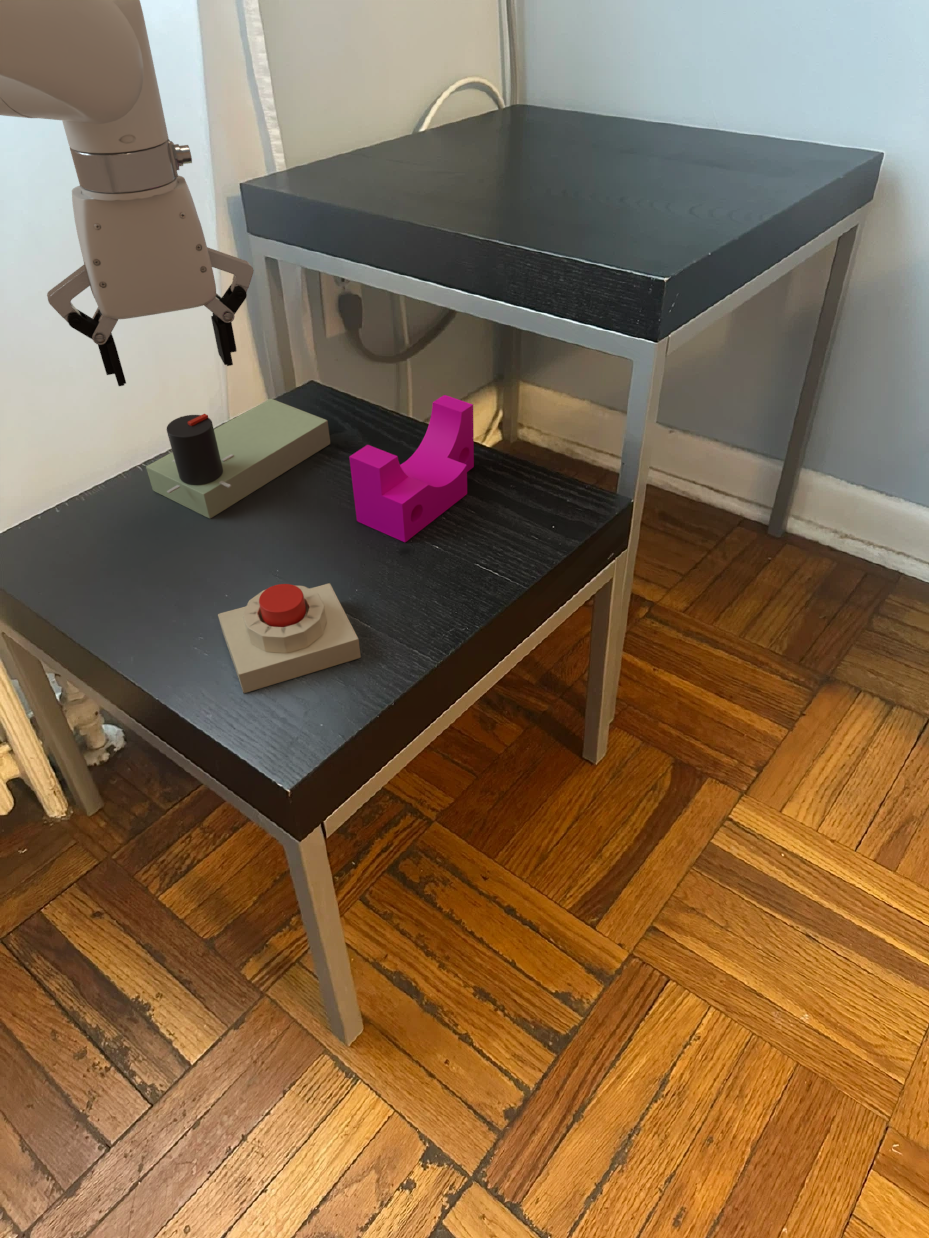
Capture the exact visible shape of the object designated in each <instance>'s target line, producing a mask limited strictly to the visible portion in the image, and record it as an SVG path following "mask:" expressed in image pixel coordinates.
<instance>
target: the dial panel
mask: <svg viewBox="0 0 929 1238" xmlns="http://www.w3.org/2000/svg"><path fill="white" fill-rule="evenodd" d="M214 433H215V437H216V441H217V446H218V450H219V454H220V459H221V463H222V467H223V473H222V475H221V476H220V477H219V478H218V479H216V480H215V481H213V482H210V483H207V484H202V485H190V484H186V483H184V482H182V481H181V479H180V478H179V474H178V470H177V467H176V463H175V459H174V455H173V452H170V453H168V454H166V455H164V456H163V457H161V458H159V459H157V460H155V461H153V462H151V463H150V464H148V465H145V469H146V472H147V475H148V478H149V482H150V485H151V489H152V491H153V492H155V493H157V494H159V495H161V496H163V497H165V498H167V499H169V500H170V501H173V502H175V503H177V504H179V505H182V506H183V507H185V508H187V509H189V510H191V511H193V512H195V513H197V514H199V515H201V516H203V517H205V518H207V519H212V518H214V517H215V516H217V515H218V514H220V513H223V511H225V510H226V509H228V508H230V507H232V506H233V505H234V504H237V503H238V502H240V501H241V500H242V499H244V498H246V497H248V496H249V495H250V494H252V493H254V492H256V491H257V490H259V489H261V488H262V487H264V486H265V485H267V484H268V483H270V482H272V481H273V480H275V479H276V478H278V477H279V476H281V475H283V474H284V473H286V472H287V471H289V470H290V469H292V468H294V467H295V466H298V465H299V464H300V463H302V462H303V461H305V460H307V459H309V458H310V457H312V456H314V455H315V454H317V453H319V452H320V451H321V450H323V449H325V448H326V447H328V446H329V445H331V436H330V428H329V422H328V420H327V419H325V418H323V417H320V416H317V415H315V414H312V413H309V412H307V411H304V410H302V409H299V408H297V407H294V406H291V405H289V404H287V403H283V402H281V401H278V400H277V399H274V398H269V399H267V400H265V401H263V402H262V403H260V404H258V405H256V406H254V407H253V408H250V409H249V410H247V411H245V412H243V413H242V414H240V415H238V416H236V417H234V418H232V419H230V420H229V421H227V422H225V423H223V424H221V425H219V426H217V427H216V428H214Z"/></svg>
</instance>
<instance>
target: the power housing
mask: <svg viewBox="0 0 929 1238" xmlns="http://www.w3.org/2000/svg"><path fill="white" fill-rule="evenodd" d="M293 585H294V584H293ZM294 586H297V587H298V588H300V589H301V591H302V592H303V596H304V601H305V607H306V614H305V616H304V618H303V619H302V620H301V621H300V622H298V623H297V624H294V625H290V626H287V627H272V626H270V625H268V624H267V623H265V621H264V620H263V618H262V613H261V609H260V605H259V598H260V595H261V594H262V593H263V592H264V591H265V590H266V589H263V590H262V591H260V592H259V593H257V594H256V595H255V596H254V597H252V598H250V599H249V600H248V602H247V604H246V606H242V607H238V608H235V609H231V610H227V611H223V612H220V613H217V617H218V620H219V621H218V622H219V624H220V628H221V631H222V635H223V638H224V641H225V644H226V646H227V650H228V653H229V656H230V658H231V661H232V664H233V667H234V670H235V673H236V676H237V679H238V682H239V684H240V688H241V691H242V693H243V694H247V693H250V692H253V691H257V690H260V689H263V688H266V687H269V686H272V685H276V684H279V683H283V682H286V681H289V680H292V679H296V678H299V677H303V676H305V675H306V676H307V675H309V674H312V673H315V672H319V671H322V670H325V669H328V668H331V667H335V666H338V665H342V664H346V663H348V662H351V661H355V660H358V659H361V658H362V656H361V654H362V653H361V647H360V639H359V636H358V635H357V633H356V631H355V629H354V627H353V626H352V623H351V621H350V620H349V617H348V615H347V614H346V611H345V610H344V607H343V605H342V604H341V601H340V600H339V598H338V596H337V595H336V592H335V590H334V588H333V586H332V584H331V583H330V582H329V583H325V584H322V585H318V586H314V587H310V588H309V587H307V586H305V585H296V584H295V585H294Z"/></svg>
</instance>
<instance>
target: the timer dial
mask: <svg viewBox="0 0 929 1238" xmlns="http://www.w3.org/2000/svg"><path fill="white" fill-rule="evenodd" d="M214 429H215V428H214V425H213V421H212V419H211V418H210V417H209V415H208V414H206V413H203V414H189V415H183V416H180V417H177V418H175V419H173V420H172V421H170V422H169V423H168V424H167V426H166V433H167V437H168V440H169V445H170V448H171V451H172V452H173V455H174V459H175V463H176V467H177V470H178V474H179V478H180V479H181V481H182V482H184V483H186V484H190V485H202V484H207V483H210V482H213V481H215V480H216V479H218V478H219V477H220V476H221V475H222V473H223V467H222V463H221V459H220V454H219V450H218V446H217V441H216V437H215V433H214ZM172 452H171V453H172Z"/></svg>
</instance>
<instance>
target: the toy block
mask: <svg viewBox="0 0 929 1238" xmlns="http://www.w3.org/2000/svg"><path fill="white" fill-rule="evenodd" d="M431 406H432V407H431V414H430V419H429V421H428V426H427V429H426V432H425V434H424V436H423V438H422V440H421V442H420V443H419V445H418V447H417V448H416V449H415V451H414V452H413V454H411V456H410V457H409V458H408V459H407V460H405V461H403V462H402V463H401V464H400V461H399V457H398V455H396V454H393V453H390V452H387V451H386V450H382V449H380V448H377V447H375V446H372V445H370V444H366V445H365V446H363V447H362V448H360V449H358V450H357V451H356V452H354V453H353V454H351V455H349V457H348V458H349V466H350V473H351V474H350V475H351V484H352V492H353V500H354V508H355V517H356V522H358V523H360V524H362V525H363V526H366V527H368V528H371V529H374V530H375V531H378V532H380V533H382V534H384V535H387V536H390V537H391V538H394V539H396V540H398V541H401V542H403V543H406V542H408V541H409V540H411V538H413V537H414V536H415V535H417V534H418V533H419V532H420V531H422V530H423V529H425V528H426V527H427V526H428V525H429V524H431V523H432V522H433V521H435V520H436V519H437V518H439V517H440V516H441V515H443V513H445V512H446V511H447V510H449V509H450V508H451V507H453V506H454V505H455V504H456V503H458V502H459V501H460V500H461V499H463V498H464V497H465V496H467V495H468V472H469V471H471V470H472V469H473V468H474V466H475V451H474V449H475V447H474V441H475V440H474V437H475V436H474V433H475V432H474V404H473V403H470V402H467V401H464V400H461V399H458V398H456V397H452V396H449V395H447V394H443V395H442V396H440V397H438V398H437V399H435V400H434V401H432V405H431Z"/></svg>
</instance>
